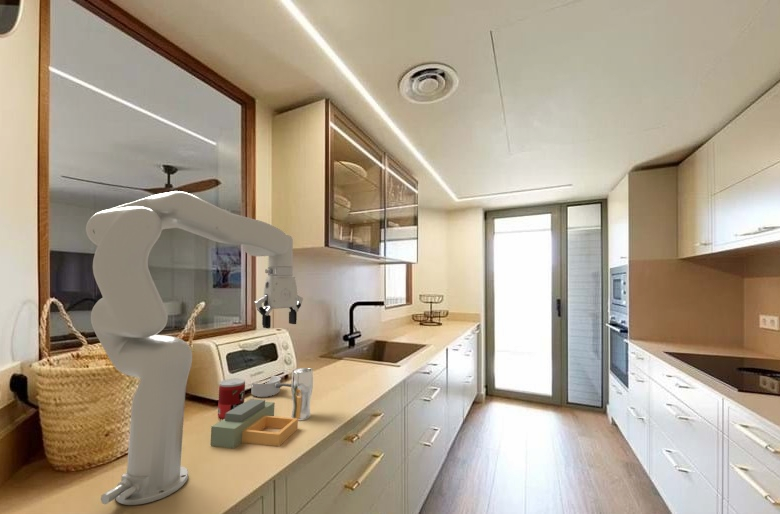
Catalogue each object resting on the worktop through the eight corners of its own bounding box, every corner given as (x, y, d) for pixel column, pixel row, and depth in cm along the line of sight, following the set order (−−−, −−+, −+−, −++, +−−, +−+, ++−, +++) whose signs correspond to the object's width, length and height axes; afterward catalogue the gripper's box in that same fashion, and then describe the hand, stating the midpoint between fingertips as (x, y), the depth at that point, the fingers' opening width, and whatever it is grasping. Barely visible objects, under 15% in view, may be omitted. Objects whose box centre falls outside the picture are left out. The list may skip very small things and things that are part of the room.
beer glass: (316, 415, 108) (317, 369, 110) (300, 423, 102) (301, 374, 104) (301, 411, 112) (303, 366, 113) (285, 418, 106) (287, 370, 107)
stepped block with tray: (271, 452, 84) (272, 424, 85) (210, 445, 88) (211, 418, 88) (305, 421, 104) (306, 398, 104) (254, 416, 107) (255, 394, 108)
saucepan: (280, 405, 118) (281, 389, 118) (243, 395, 127) (244, 381, 128) (303, 395, 128) (303, 381, 129) (266, 387, 137) (267, 374, 138)
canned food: (233, 421, 103) (235, 385, 104) (211, 419, 105) (213, 384, 106) (248, 412, 111) (250, 379, 112) (228, 410, 112) (229, 377, 113)
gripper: (263, 272, 97) (262, 331, 96) (309, 272, 111) (309, 323, 110) (249, 272, 101) (248, 328, 100) (295, 272, 115) (294, 321, 114)
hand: (280, 325), depth 105 cm, fingers open, 9 cm apart
